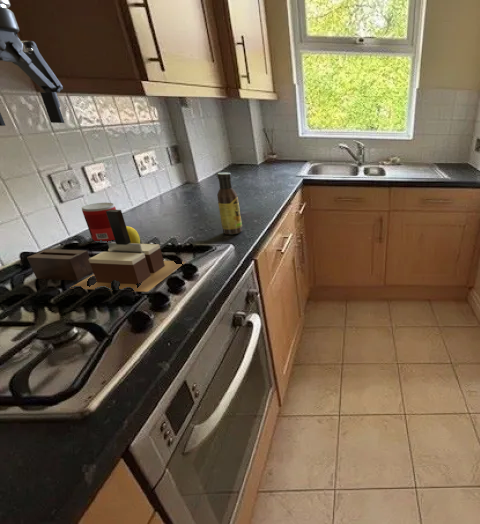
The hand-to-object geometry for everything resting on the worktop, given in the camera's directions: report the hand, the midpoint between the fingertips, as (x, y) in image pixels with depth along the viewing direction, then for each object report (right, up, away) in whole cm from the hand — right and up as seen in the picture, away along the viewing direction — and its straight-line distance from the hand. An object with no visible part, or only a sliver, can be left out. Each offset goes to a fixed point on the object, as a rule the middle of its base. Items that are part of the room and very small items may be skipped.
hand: (30, 124), depth 73 cm
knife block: (+2, -35, +7) cm, 36 cm away
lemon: (+5, -28, +24) cm, 37 cm away
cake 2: (+17, -32, +11) cm, 38 cm away
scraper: (+17, -33, +8) cm, 38 cm away
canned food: (-7, -24, +31) cm, 40 cm away
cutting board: (+17, -35, +9) cm, 40 cm away
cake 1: (+17, -35, +6) cm, 39 cm away
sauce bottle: (+28, -20, +40) cm, 53 cm away
